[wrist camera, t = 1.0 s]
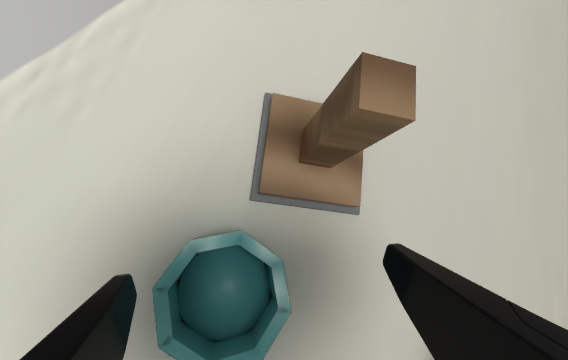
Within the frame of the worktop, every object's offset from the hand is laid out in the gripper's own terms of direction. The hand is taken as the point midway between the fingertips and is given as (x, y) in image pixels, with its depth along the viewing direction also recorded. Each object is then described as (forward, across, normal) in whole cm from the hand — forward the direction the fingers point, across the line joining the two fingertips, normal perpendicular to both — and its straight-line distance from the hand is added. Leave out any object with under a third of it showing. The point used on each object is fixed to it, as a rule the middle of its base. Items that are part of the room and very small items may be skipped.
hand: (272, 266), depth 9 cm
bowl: (+9, +2, +11) cm, 14 cm away
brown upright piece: (+15, -6, +1) cm, 16 cm away
